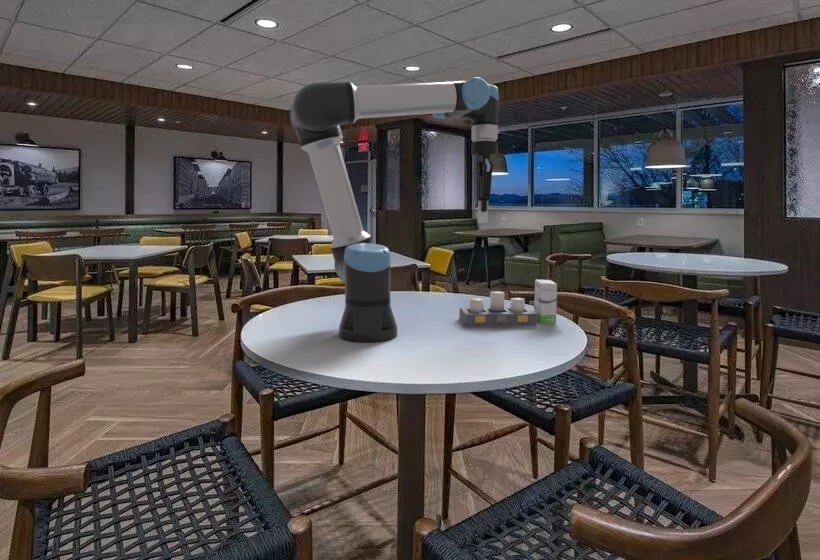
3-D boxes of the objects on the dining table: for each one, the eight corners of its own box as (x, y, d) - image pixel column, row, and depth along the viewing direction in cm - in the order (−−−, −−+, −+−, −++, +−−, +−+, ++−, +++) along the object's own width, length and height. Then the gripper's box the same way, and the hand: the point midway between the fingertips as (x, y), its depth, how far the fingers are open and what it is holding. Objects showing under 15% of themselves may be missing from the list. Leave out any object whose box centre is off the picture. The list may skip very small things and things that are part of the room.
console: (466, 327, 144) (466, 314, 144) (459, 318, 155) (459, 307, 155) (536, 326, 146) (537, 313, 145) (525, 317, 157) (525, 306, 156)
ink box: (556, 324, 148) (558, 283, 147) (539, 324, 148) (540, 283, 147) (549, 317, 157) (551, 279, 155) (533, 317, 157) (534, 279, 155)
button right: (512, 317, 149) (512, 300, 148) (508, 314, 153) (509, 297, 152) (525, 317, 149) (526, 300, 148) (521, 314, 153) (522, 297, 152)
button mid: (491, 311, 148) (492, 293, 147) (488, 308, 152) (488, 291, 151) (505, 310, 148) (505, 293, 147) (502, 308, 152) (502, 291, 151)
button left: (470, 318, 148) (471, 300, 147) (468, 315, 152) (468, 298, 151) (484, 317, 148) (484, 300, 147) (481, 315, 152) (482, 298, 151)
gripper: (502, 138, 145) (500, 223, 148) (492, 144, 158) (490, 222, 161) (476, 138, 144) (474, 223, 148) (467, 144, 157) (466, 222, 160)
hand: (482, 222), depth 154 cm, fingers closed
